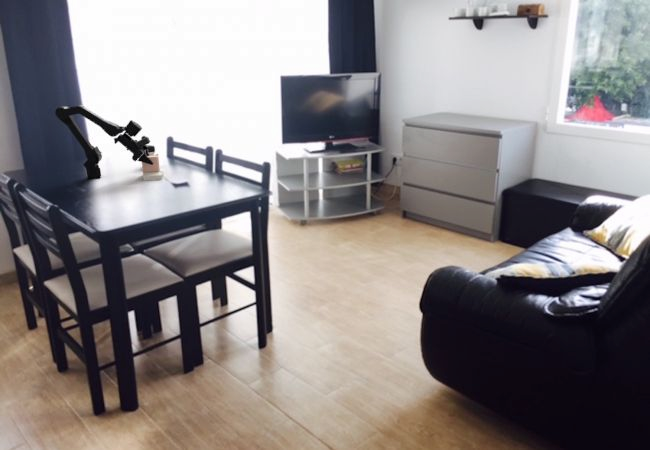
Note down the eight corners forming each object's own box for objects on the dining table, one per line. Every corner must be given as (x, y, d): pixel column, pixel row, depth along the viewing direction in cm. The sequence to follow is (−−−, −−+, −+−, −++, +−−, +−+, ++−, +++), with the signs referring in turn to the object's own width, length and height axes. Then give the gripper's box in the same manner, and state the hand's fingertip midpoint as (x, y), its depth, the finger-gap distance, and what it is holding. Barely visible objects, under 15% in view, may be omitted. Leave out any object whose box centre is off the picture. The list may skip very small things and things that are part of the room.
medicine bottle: (155, 168, 314) (153, 146, 311) (142, 168, 315) (140, 146, 311) (159, 165, 321) (157, 144, 317) (146, 165, 321) (144, 144, 318)
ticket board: (143, 180, 287) (143, 175, 287) (146, 176, 295) (145, 171, 294) (161, 179, 289) (161, 174, 288) (163, 176, 296) (163, 171, 295)
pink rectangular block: (143, 176, 295) (141, 157, 292) (144, 174, 299) (142, 155, 296) (159, 175, 296) (157, 157, 293) (160, 173, 300) (158, 155, 297)
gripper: (136, 134, 281) (161, 155, 286) (142, 129, 298) (165, 149, 303) (121, 150, 282) (146, 171, 287) (128, 144, 300) (152, 163, 305)
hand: (153, 163), depth 296 cm, fingers closed on pink rectangular block, 4 cm apart
